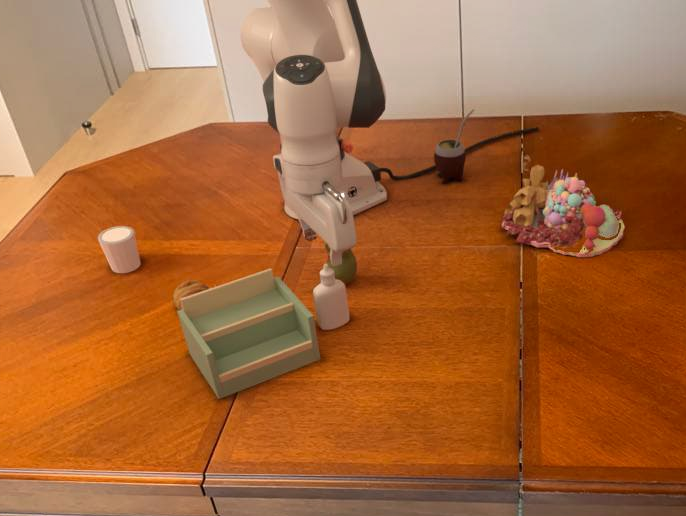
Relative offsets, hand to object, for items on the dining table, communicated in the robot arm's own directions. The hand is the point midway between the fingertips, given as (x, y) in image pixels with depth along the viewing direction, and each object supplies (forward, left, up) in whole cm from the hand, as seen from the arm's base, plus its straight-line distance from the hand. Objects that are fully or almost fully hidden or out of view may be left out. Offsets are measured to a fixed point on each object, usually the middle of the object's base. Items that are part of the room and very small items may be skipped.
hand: (322, 251), depth 132 cm
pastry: (+18, -19, -15) cm, 30 cm away
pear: (-8, -11, -15) cm, 20 cm away
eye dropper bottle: (0, 0, -15) cm, 15 cm away
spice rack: (+15, +1, -15) cm, 21 cm away
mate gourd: (-48, -35, -15) cm, 61 cm away
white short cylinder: (+25, -41, -15) cm, 51 cm away
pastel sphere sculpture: (-55, -4, -15) cm, 57 cm away
